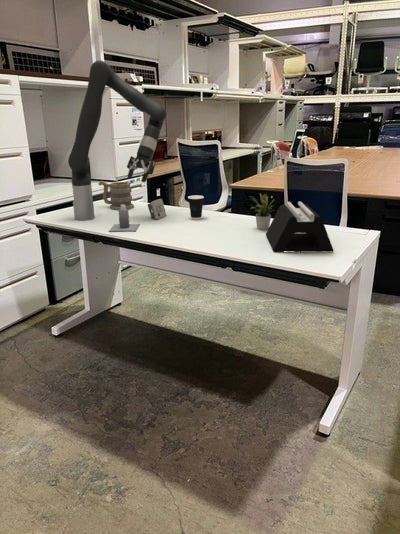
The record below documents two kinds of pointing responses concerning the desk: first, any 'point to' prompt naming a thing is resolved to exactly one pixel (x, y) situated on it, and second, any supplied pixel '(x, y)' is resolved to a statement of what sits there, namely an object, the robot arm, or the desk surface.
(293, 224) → the device stand
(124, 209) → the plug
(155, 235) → the desk surface
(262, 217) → the house plant
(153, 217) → the electrical switch
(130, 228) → the mat
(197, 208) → the dixie cup
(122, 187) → the tankard
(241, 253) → the desk surface
